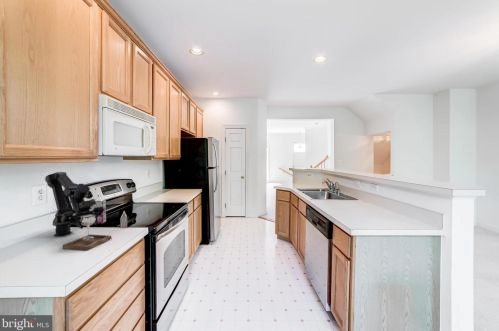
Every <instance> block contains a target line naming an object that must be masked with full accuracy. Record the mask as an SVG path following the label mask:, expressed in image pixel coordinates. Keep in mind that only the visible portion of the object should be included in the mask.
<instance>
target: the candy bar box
mask: <svg viewBox="0 0 499 331" xmlns="http://www.w3.org/2000/svg"><path fill="white" fill-rule="evenodd" d="M95 201H96V204H95V205H93V206H91V209H90V210H89V211H92V210H94V209H95V207H101V206H102V207H103V208H104V211H103V213H102V214H101V215H100V216H97V225H98V224H104V223H106V222H107V206H106V205H107V204H106V203H107V200H106V199H99V200H98V199H97V200H96V199H95ZM90 215H91V214H90ZM92 225H95V224H94V223H93V224H92Z"/></svg>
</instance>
